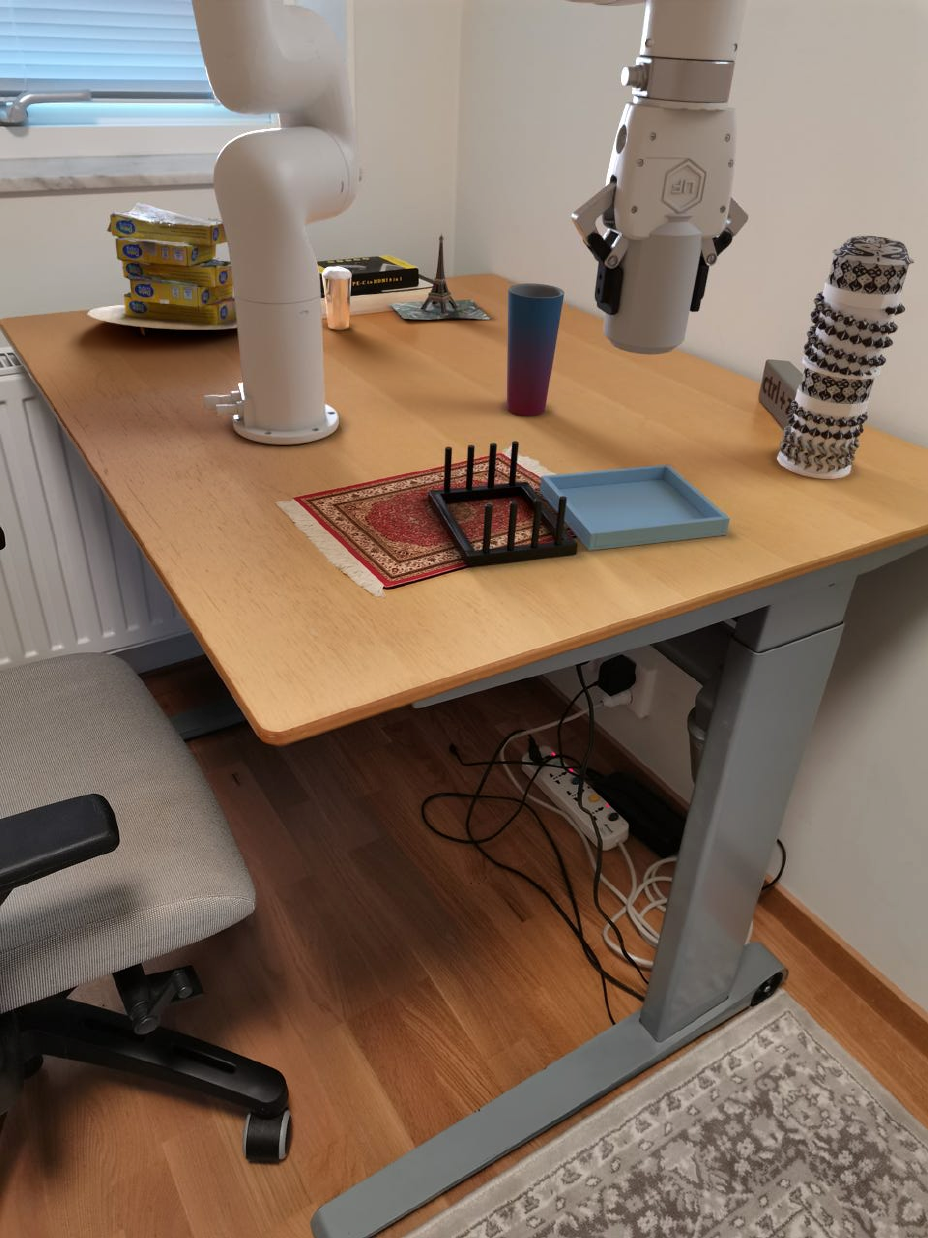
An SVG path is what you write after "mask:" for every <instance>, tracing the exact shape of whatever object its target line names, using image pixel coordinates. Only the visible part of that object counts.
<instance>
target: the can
mask: <svg viewBox="0 0 928 1238" xmlns="http://www.w3.org/2000/svg"><path fill="white" fill-rule="evenodd" d="M665 217H667V218H668V222H667V223H665V224H663V225H661V226H659V227H657V228H656V229H655V230H653V231H652V232H651V233H649V238H647V239H644V240H642V241H639V240H632V239H630V240H629V247H628V250H627V251H626V253H625V254H624V256H623V258H622V259H621V261H620V262H619V267H620V268H622V269H623V280H622V287H621V294H620V301H619V308H618V313H616V314H615V315H608V314H607V313H605V312H604V321H603V328H602V334H603V335H604V336H605V337H606V338H607V340H608V341H609V342H610V345H612V346H613V347H614V348H616V349H619V350H620V351H624V352H627V353H632V354H638V355H648V356H649V355H650V356H651V355H663V354H668V353H671V352H673V350H674V349H675V348H677V347H678V346H680V345H682V344H683V343H684V341H685V338H686V333H687V327H688V322H689V317H690V312H691V311H690V306H691V301H692V296H693V290H694V285H695V279H696V274H697V269H698V263H699V258H700V252H701V247H702V242H703V240H702V238H701V236H702V232H701V231H700V230H699V229H697V228H696V227H695V226H693V225H692V224H691V223H690V222H688V219H689V218H691V217H693V214H666V215H665ZM617 237H618V235H617ZM616 239H617V238H616Z"/></svg>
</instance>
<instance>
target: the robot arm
mask: <svg viewBox="0 0 928 1238" xmlns="http://www.w3.org/2000/svg"><path fill="white" fill-rule="evenodd" d="M565 1H566V2H571V3H578V4H579V3H580V4H592V5H596V6H606V7H622V6H631V5H638V4H645V8H644V9H645V10H644V17H643V25H642V31H641V40H640V47H639V56H637V57H636V61H635V64H633V65H632V66H624V67H623V69H622V72H621V84H622V86H624V87H630V88H631V89H632V93H631V94H632V95H633V100H632V101H627V102H626V103H625V106H624V109H623V112H622V114H621V118H620V121H619V124H618V128H617V131H616V135H615V139H614V142H613V146H612V151H611V155H610V160H609V165H608V170H607V175H606V180H605V186H604V187H603V188H601V190H599V191H598V192H597V193H596V194H594V195H593V196H591V198H589V199H588V200H587V201H586V202H584V203H583V204H582V205H581V206H579V207H578V208H577V209H576V210H575V211H573V213H572V215H571V221H572V223H573V225H574V227H575V228H576V230H577V232H578V234H579V236H580V237H581V238H582V243H583V244H584V245H585V247H587V249H588V250H589V251H590V253H591V254H592V255H593V258H594V260H595V261H596V262H598V263H597V272H596V280H595V286H594V287H595V288H594V301H595V302H596V307H597V308H598V310H601V311H602V312H603V313H604V314H605V313H607V314H608V315H615V314H616V313H618V308H619V301H620V294H621V287H622V280H623V269H622V268H620V267H619V262H620V261H621V259H622V258H623V256H624V254H625V253H626V251H627V250H628V247H629V240H630V239H632V240H639V241H642V240H644V239H647V238H649V233H651V232H652V231H653V230H655V229H656V228H657V227H659V226H661V225H663V224H665V223H667V222H668V218H667V217H665V215H666V214H693V217H691V218H689V219H688V222H690V223H691V224H692V225H693V226H695V227H696V228H697V229H699V230H700V231H701V232H702V236H701V238H702V240H703V242H702V247H701V252H700V258H699V263H698V269H697V274H696V279H695V285H694V290H693V296H692V301H691V306H690V312H691V313H698V312H699V311H700V308H701V303H702V300H703V298H704V297H705V293H706V288H707V282H708V276H709V272H710V267H712V266H714V265H715V264H716V263H717V261H718V257H719V256H720V255H721V254H722V253H723V252H724V250H726V249H727V248H728V247H729V246H730V245H731V244H732V242H733V238H734V237H736V236H737V235H738V233H739V232H740V231H741V230H742V228H743V227H744V226H745V225H746V223H747V222H748V220H749V214H748V213H747V211H746V210H745V208H743V207H742V206H741V204H740V203H739V202H738V201H737V200H736V199H735V197H734V196H733V195H732V190H733V183H734V175H735V165H736V155H737V154H736V153H737V108H734V107H729V106H728V104H729V102H728V101H729V98H730V93H731V88H732V82H733V76H734V71H735V65H736V60H737V53H738V48H739V43H740V37H741V32H742V27H743V21H744V16H745V11H746V5H747V0H565ZM191 5H192V10H193V15H194V20H195V25H196V30H197V36H198V41H199V45H200V50H201V51H200V52H201V55H202V59H203V64H204V69H205V74H206V77H207V80H208V83H209V84H208V85H209V87H210V89H211V91H212V94H213V96H214V97H215V98H216V100H217V101H218V102H219V104H220V105H222V106H223V107H224V108H225V109H226V110H229V111H230V112H233V113H236V114H239V115H247V116H249V115H250V116H261V115H275V114H277V117H278V122H279V127H277V128H269V129H259V130H253V131H250V132H246V133H243V134H241V135H238V136H236V137H235V138H233V139H232V140H230V141H229V142H227V144H225V146H224V147H223V148H222V149H221V151H220V152H219V154H218V155H217V158H216V161H215V163H214V168H213V176H212V177H213V178H212V179H213V180H212V181H213V190H214V195H215V200H216V205H217V207H218V211H219V215H220V218H221V221H222V222H223V225H224V229H225V233H226V238H227V242H226V243H227V248H228V255H229V260H230V262H231V270H232V280H233V297H235V308H236V319H237V328H236V329H237V340H238V350H239V351H238V352H239V361H240V372H241V383H240V382H239V383H238V384H237V386H238V390H233V391H232V390H231V391H230V394H207V395H206V394H204V395H203V403H204V404H203V405H204V410H205V413H207V412H208V413H211V412H216V417H217V418H221V417H229V416H232V427H233V430H234V432H236V433H237V434H238V435H239V436H241V437H243V438H244V439H247V440H249V441H253V442H257V443H260V444H268V445H278V446H279V445H282V446H283V445H287V446H288V445H289V446H290V445H301V444H307V443H312V442H316V441H318V440H322V439H325V438H326V437H329V436H331V435H332V434H333V433H334V432H336V430H338V427H339V425H340V421H339V420H340V418H339V414H338V412H337V410H336V409H334V408H333V407H332V406H331V405H328V404H326V390H325V389H326V387H325V369H324V368H325V365H324V364H325V363H324V342H323V339H324V338H323V317H322V293H321V276H320V270H319V263H318V260H317V257H316V254H315V250H314V248H313V247H312V245H311V241H310V239H309V236H308V234H307V230H306V226H308V225H311V224H316V223H318V222H322V221H326V220H330V219H332V218H335V217H338V216H340V215H342V214H343V213H345V212H346V211H347V210H348V209H349V208H350V207H351V206H352V204H353V202H354V200H355V198H356V196H357V193H358V190H359V187H360V185H359V184H360V159H359V149H358V142H357V135H356V128H355V119H354V112H353V103H352V99H351V98H352V97H351V89H350V82H349V76H348V70H347V64H346V59H345V55H344V51H343V49H342V45H340V41H339V40H338V38H337V35H336V34H335V32H334V30H333V28H332V27H331V26H330V24H329V23H328V22H327V21H326V20H325V18H323V17H322V16H321V15H320V14H318V13H317V12H316V11H314V10H312V9H310V8H308V7H304V6H301V5H296V4H285V2H284V0H191ZM599 217H601V221H602V223H603V226H604V227H606V228H607V231H606V232H605V234H604V235H603V236H602V235H601V234H600V232H599V230H598V228H597V226H596V221H597V219H598V218H599ZM617 235H618V237H617ZM616 238H617V239H616Z"/></svg>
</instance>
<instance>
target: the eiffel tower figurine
mask: <svg viewBox="0 0 928 1238" xmlns="http://www.w3.org/2000/svg"><path fill="white" fill-rule="evenodd" d="M442 233H443V230H442V228H441V230H440V236H439V238H438V241H439V243H438V244H439V245H438V255H437V265H436V273H435V278H433V279H434V281H433V285H432V288H431V290H430V292H428V294H427V297H426V298H425V300H422V301H405V302H393V303H389V305H390V306H391V307H392V308H393V310H395V311H396V312H397V313H398V315H399V316H401V318H402V319H406V320H407V319H409V320H441V319H443V320H448V319H469V320H470V319H474V320H491V318H490V317H489V316H488V315H487V314H486V313H485V311H483V310H482V308H480V307H479V306H478V304H477V303H476V302H475V301H474V300H473V299H457V300H455V299H453V297H452V292H451V291H449V289H448V284H447V281H446V280H447V278H446V275H445V267H444V266H445V265H444V236H443V234H442Z"/></svg>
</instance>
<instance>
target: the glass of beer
mask: <svg viewBox="0 0 928 1238" xmlns="http://www.w3.org/2000/svg"><path fill="white" fill-rule="evenodd" d="M356 265H357V262H356V261H355V264H354V268H353V270H352V272H351V271H350V270H349V269H348V268H345V267H342V266H340V265H339V266H327V267H326V268H325V269H324V270H323V271H322V273H321V278H322V287H323V293H324V302H325V311H326V319H327V327H328V329H331V330H335V331H336V330H337V331H342V330H343V331H344V330H346V329H349V328H350V309H351V307H350V306H351V290H352V278H353V277H352V275H353V273H354V270H355V267H356Z"/></svg>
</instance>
